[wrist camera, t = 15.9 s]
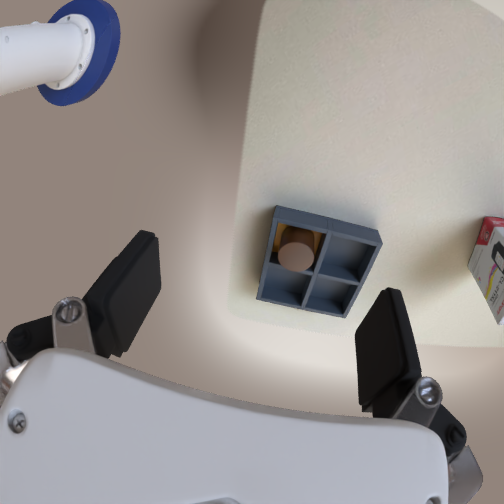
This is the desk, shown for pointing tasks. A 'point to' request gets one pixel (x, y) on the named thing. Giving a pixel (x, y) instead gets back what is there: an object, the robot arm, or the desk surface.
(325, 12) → the desk surface
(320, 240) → the grid
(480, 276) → the ink box
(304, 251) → the cylinder
